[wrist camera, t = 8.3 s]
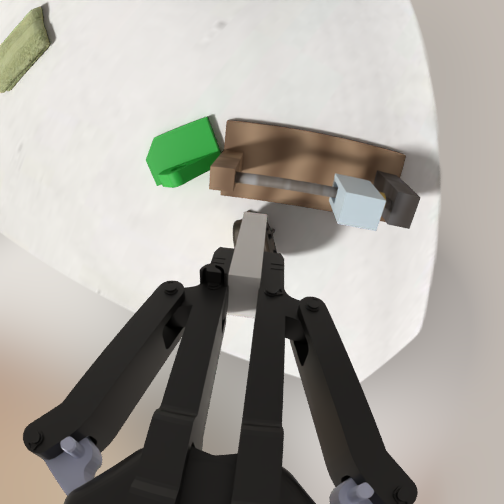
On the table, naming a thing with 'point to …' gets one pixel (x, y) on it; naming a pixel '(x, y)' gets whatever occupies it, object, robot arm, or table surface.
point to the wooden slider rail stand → (307, 169)
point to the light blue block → (356, 202)
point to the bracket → (183, 153)
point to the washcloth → (22, 49)
